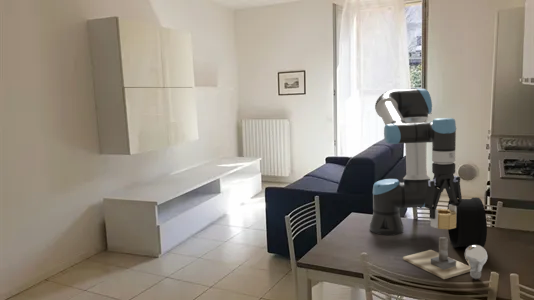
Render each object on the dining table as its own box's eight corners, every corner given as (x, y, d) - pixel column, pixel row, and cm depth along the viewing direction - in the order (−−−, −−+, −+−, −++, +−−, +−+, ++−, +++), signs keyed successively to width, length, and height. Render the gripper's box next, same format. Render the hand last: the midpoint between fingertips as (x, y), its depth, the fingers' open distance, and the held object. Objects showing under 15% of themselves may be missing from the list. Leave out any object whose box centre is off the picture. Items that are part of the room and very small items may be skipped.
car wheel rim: (486, 256, 161) (487, 205, 158) (458, 255, 163) (458, 205, 160) (472, 237, 180) (472, 192, 178) (447, 237, 182) (447, 192, 180)
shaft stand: (403, 259, 162) (402, 231, 160) (430, 252, 168) (430, 225, 166) (444, 279, 144) (444, 248, 142) (473, 270, 149) (473, 240, 148)
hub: (426, 224, 153) (426, 211, 152) (443, 221, 156) (443, 207, 155) (444, 230, 145) (444, 216, 145) (460, 226, 149) (461, 212, 148)
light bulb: (462, 273, 147) (463, 240, 146) (484, 275, 145) (485, 242, 143) (465, 282, 141) (466, 248, 139) (489, 284, 139) (489, 249, 137)
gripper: (429, 167, 140) (429, 233, 143) (474, 160, 148) (473, 222, 151) (412, 164, 147) (413, 227, 150) (456, 157, 155) (456, 217, 158)
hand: (443, 224), depth 151 cm, fingers closed on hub, 8 cm apart
